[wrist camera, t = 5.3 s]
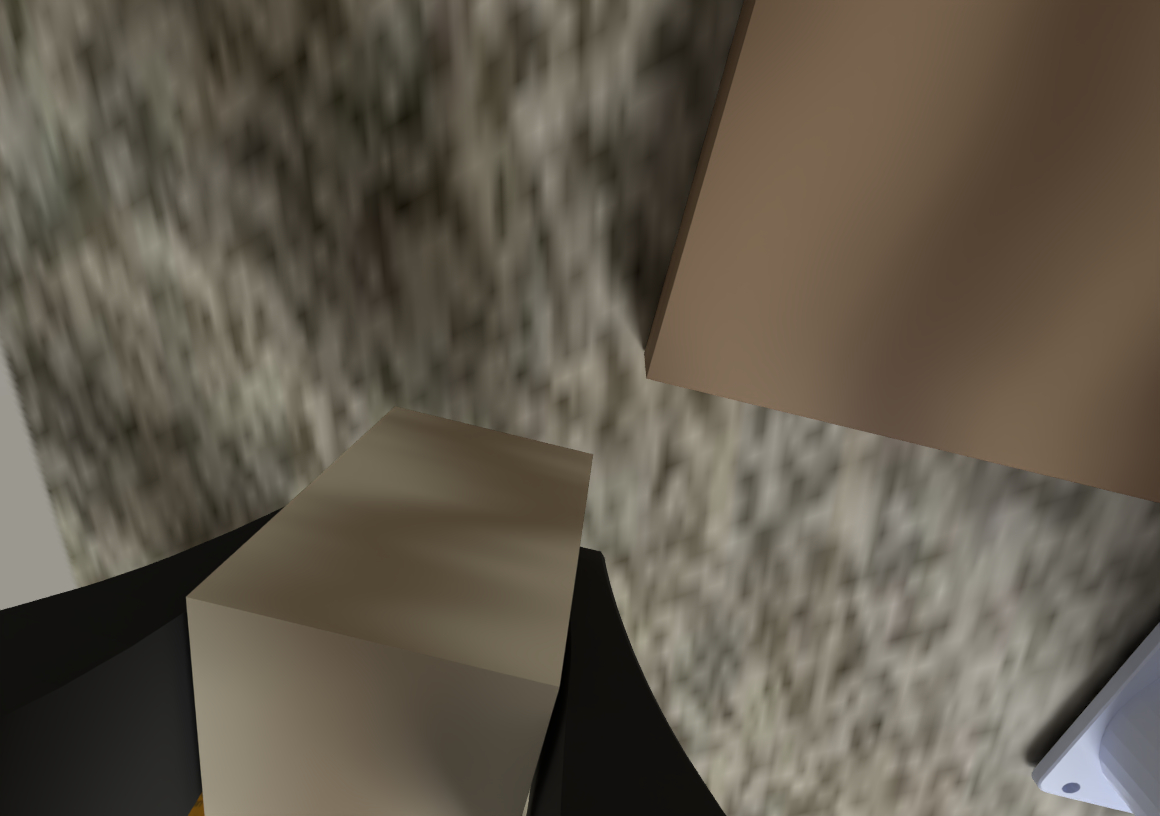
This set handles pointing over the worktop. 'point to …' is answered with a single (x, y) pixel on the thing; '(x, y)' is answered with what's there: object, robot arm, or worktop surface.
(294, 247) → the worktop surface
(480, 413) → the worktop surface
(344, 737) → the beech block
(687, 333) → the walnut plinth
